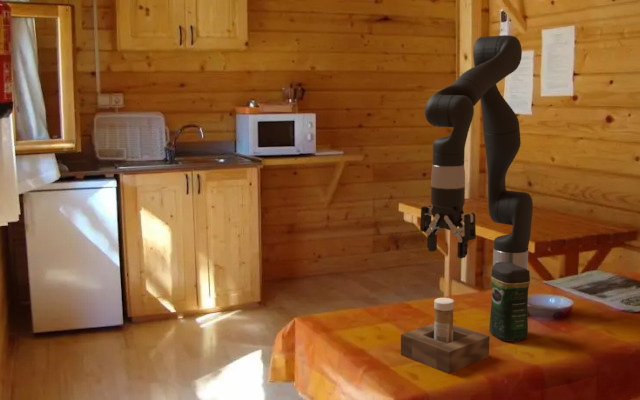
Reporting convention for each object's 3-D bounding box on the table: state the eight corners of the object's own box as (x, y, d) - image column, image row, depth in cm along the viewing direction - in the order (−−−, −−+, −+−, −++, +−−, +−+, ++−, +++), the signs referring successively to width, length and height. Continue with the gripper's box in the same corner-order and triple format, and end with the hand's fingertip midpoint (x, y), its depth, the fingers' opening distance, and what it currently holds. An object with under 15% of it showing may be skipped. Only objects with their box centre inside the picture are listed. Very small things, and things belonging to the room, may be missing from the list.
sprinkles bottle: (456, 355, 170) (458, 299, 168) (445, 360, 167) (446, 304, 164) (440, 349, 173) (441, 295, 171) (429, 355, 170) (430, 300, 168)
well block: (441, 339, 180) (441, 320, 179) (488, 356, 169) (489, 336, 168) (400, 354, 170) (400, 334, 169) (448, 373, 160) (449, 352, 159)
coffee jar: (533, 340, 179) (536, 267, 175) (504, 344, 176) (507, 270, 173) (511, 327, 188) (514, 257, 184) (484, 331, 185) (486, 260, 182)
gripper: (484, 186, 161) (482, 257, 164) (434, 179, 171) (433, 246, 174) (462, 190, 156) (461, 263, 159) (413, 182, 167) (412, 251, 169)
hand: (446, 254), depth 167 cm, fingers open, 8 cm apart
